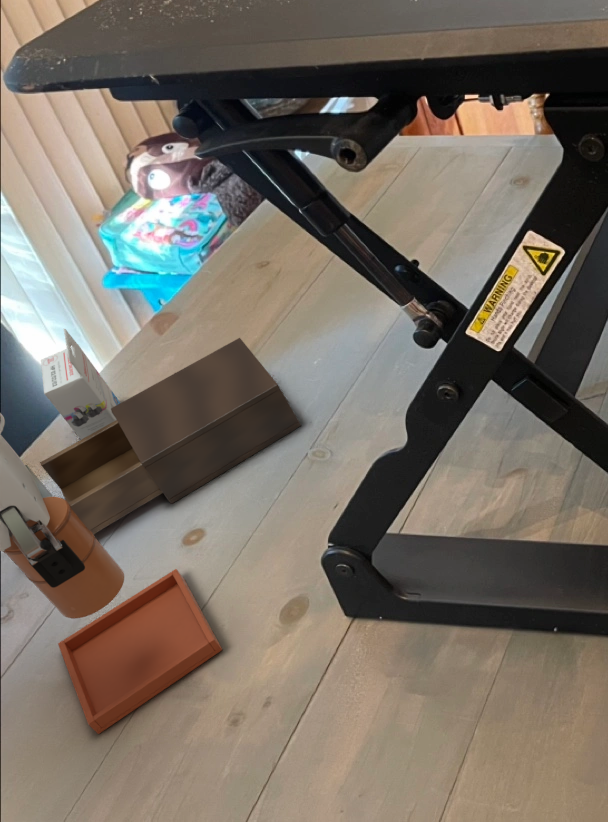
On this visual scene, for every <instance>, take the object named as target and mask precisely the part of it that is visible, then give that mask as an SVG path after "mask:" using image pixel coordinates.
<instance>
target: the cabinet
mask: <svg viewBox="0 0 608 822" xmlns="http://www.w3.org/2000/svg"><path fill="white" fill-rule="evenodd" d="M111 411H112V412H113V414H114V416H115V418H116V419H117V421H118V423H119V425H120V427H121V428H122V430H123V432H124V434H125V435H126V437H127V439H128V441H129V443H130V444H131V446H132V448H133V450H134V451H135V453H136V455H137V457H138V459H139V460H140V462H141V464H142V465H143V467H144V468H145V469H146V471H147V472H148V473H149V475H150V476H151V477H152V479H153V480H154V481H155V483H156V484H157V486H158V487H159V488H160V490H161V491H162V492H163V493H162V494H163V495H164V496H165V498H166V499H167V501H168V502H169V503H170V504H174V503H175V502H177V501H179V500H180V499H182V498H184V497H185V496H188V495H189V494H191V493H192V492H194V491H196V490H197V489H200V488H201V487H202V486H204V485H206V484H207V483H209V482H210V481H212V480H214V479H215V478H217V477H219V476H220V475H223V474H224V473H225V472H227V471H228V470H230V469H232V468H234V467H236V466H237V465H238V464H240V463H242V462H243V461H245V460H247V459H248V458H250V457H252V456H253V455H255V454H256V453H258V452H260V451H262V450H264V449H265V448H267V447H268V446H270V445H272V444H273V443H275V442H277V441H278V440H280V439H282V438H284V437H285V436H287V435H289V434H290V433H291V432H294V431H295V430H296V429H298V428H299V427H301V426H302V423H301V422H300V420H299V419H298V417H297V415H296V413H295V411H294V410H293V408H292V406H291V405H290V403H289V401H288V400H287V398H286V396H285V394H284V392H283V390H282V389H281V387H280V385H279V383H277V381H275V379H274V378H273V376H272V375H271V374H270V372H268V370H267V369H266V368H265V366H264V365H262V363H261V362H260V361H259V359H258V358H257V357H256V356H255V354H254V353H253V352H252V350H251V349H250V348H249V346H247V344H246V343H245V342H244V341H243V340H242V338H241V337H238V338H236V339H235V340H232V341H231V342H229V343H227V344H225V345H223V346H222V347H220V348H218V349H217V350H215V351H213V352H211V353H209V354H207V355H206V356H204V357H202V358H200V359H198V360H196V361H195V362H192V363H191V364H189V365H187V366H186V367H183V368H182V369H180V370H178V371H176V372H175V373H173V374H171V375H169V376H167V377H165V378H164V379H162V380H160V381H158V382H156V383H154V384H153V385H151V386H149V387H147V388H146V389H144V390H142V391H140V392H138V393H136V394H134V395H133V396H131V397H129V398H127V399H126V400H124V401H122V402H120V404H118V405H116V406H114V407H113V408H111Z"/></svg>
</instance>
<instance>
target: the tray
mask: <svg viewBox="0 0 608 822" xmlns="http://www.w3.org/2000/svg"><path fill="white" fill-rule="evenodd" d="M57 644H58V648H59V651H60V653H61V655H62V658H63V661H64V664H65V666H66V669H67V671H68V675H69V677H70V679H71V682H72V685H73V687H74V690H75V692H76V696H77V699H78V702H79V703H80V706H81V709H82V712H83V714H84V717H85V720H86V723H87V724H88V726H89V727H90V728H91V729H92V730H93V731H94V732H96V734H98V735H99V734H101V733H102V732H104V731H105V730H107V729H108V728H110V727H112V726H113V725H114V724H116V723H117V722H119V721H120V720H121V719H123V718H124V717H126V716H128V715H129V714H131V713H132V712H133V711H135V710H136V709H137V708H140V707H141V706H143V704H145V703H146V702H149V700H151V699H153V698H154V697H156V696H157V695H158V694H160V693H161V692H163V691H165V689H167V688H169V687H170V686H171V685H173V684H175V683H176V682H178V681H179V680H180V679H182V678H183V677H185V676H187V675H188V674H189V673H191V672H192V671H194V670H195V669H197V668H198V667H200V666H201V665H203V664H204V663H205V662H207V661H208V660H210V659H211V658H213V657H215V656H216V655H218V654H219V653H220V652H221V651H223V648H222V646H221V644H220V642H219V641H218V639H217V637H216V635H215V633H214V631H213V629H212V628H211V626H210V624H209V622H208V620H207V619H206V616H205V614H204V613H203V611H202V609H201V607H200V605H199V603H198V602H197V600H196V598H195V596H194V594H193V592H192V591H191V589H190V587H189V585H188V583H187V582H186V579H185V578H184V576H183V575H182V574H181V573H180V572H179V571H178V568H175V569H174V570H171V571H170V572H168V573H167V574H166V575H163V576H162V577H161V578H159V579H158V580H156V581H154V582H153V583H151V584H150V585H148V586H146V587H145V588H143V589H142V590H140V591H139V592H137V593H135V594H134V595H132V596H130V597H128V599H126V600H124V601H123V602H121V603H120V604H117V606H115V607H113V608H111V609H110V610H108V611H107V612H105V613H104V614H102V615H100V616H99V617H98V618H96V619H94V620H93V621H90V622H89V623H88V624H86V625H85V626H83V627H82V628H79V630H77V631H75V632H74V633H73V634H71V635H69V636H68V637H66V638H64V639H63V640H61V641H59V642H58V643H57Z"/></svg>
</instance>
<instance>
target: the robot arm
mask: <svg viewBox="0 0 608 822" xmlns="http://www.w3.org/2000/svg"><path fill="white" fill-rule="evenodd" d="M5 425H6V421H5V417H4V415H3V414H2V413H1V412H0V552H2V551H5V550H6V549H7V548H9V547H10V546H11V542H10V537H11V538H12V540H13V541H14V542H15V544H16V545H17V546H18V548H19V549H20V550H21V552H22V553H23V554H24V556H25V557H26V558H27V560H28V561H29V563H30V565H31V566H32V567H33V568H34V569H35V570H36V571H37V572H38V573H39V574H40V576H41V577H42V578H43V579H44V580H45V581H46V582H47V583H48V584H49V585H50V587H52V588H55V587H57V586H59V585H61V584H62V583H64V582H65V581H67V580H69V579H70V578H72V577H74V576H75V575H77V574H79V573H80V572H82V571H83V570H84V569H85V565H84V563H83V562H82V561H81V560H80V559H79V557H78V556H77V555H76V554H75V553H74V552H73V550H72V549H71V548H70V547H69V546H68V545H67V543H66V542H65V541H64V540H62V541H59V540H58V538H57V537H56V536H55V534H54V533H53V532H52V530H51V529H50V528H49V526H48V523H49V520H50V516H49V513H48V511H47V508H46V506H45V503H44V501H43V498H42V496H41V494H40V491H39V489H38V487H37V485H36V482H35V480H34V478H33V476H32V475H31V473H30V471H29V470H28V468H27V467H26V466H25V465H26V464H25V462H24V461H23V460H22V459H21V458H20V457H21V456H19V454H18V453H17V452H16V451H15V449H13V447H12V446H11V444H9V442H8V441H7V440H6V439H5V437H3V435H2V432H3V431H4V428H5ZM29 520H33V521H35V522H37V523H35V524H34V525H32V526H29V525H28V523H27V522H28V521H29ZM40 530H41V531H42V532H43V534H44V535H45V536H46V538H47V539H48V540H45V539H44V540H43V541H40V540H39V539H38V538H37V537H36V536H35V533H36V532H38V531H40Z"/></svg>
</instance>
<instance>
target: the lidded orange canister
mask: <svg viewBox="0 0 608 822" xmlns="http://www.w3.org/2000/svg"><path fill="white" fill-rule="evenodd" d="M43 501H44V503H45V506H46V508H47V511H48V513H49V516H50V520H49V523H48V526H49V528H50V529H51V530H52V532H53V533H54V534H55V536H56V537H57V538H58V540H59V541H62V540H64V541H65V542H66V543H67V545H68V546H69V547H70V548H71V549H72V550H73V552H74V553H75V554H76V555H77V556H78V557H79V559H80V560H81V561H82V562H83V563H84V565H85V569H84V570H83V571H82V572H80V573H79V574H77V575H75V576H74V577H72V578H70V579H69V580H67V581H65V582H64V583H62V584H61V585H59V586H57V587H55V588H52V587H50V585H49V584H48V583H47V582H46V581H45V580H44V579H43V578H42V577H41V576H40V574H39V573H38V572H37V571H36V570H35V569H34V568H33V567H32V566H31V565H30V563H29V561H28V560H27V558H26V557H25V556H24V554H23V553H22V552H21V550H20V549H19V548H18V546H17V545H16V544H15V542H14V541H13V540H12V538H11V537H10V542H11V546H10V547H9V548H7V549H6V550H5V551H1V552H2V553H4V554H6V556H8V558H9V559H10V560H11V561H12V562H13V563H14V564H15V565H16V566H17V567H18V569H20V571H22V573H23V574H24V575H25V577H26V578H27V579H28V580H29V581H30V582H32V583H33V584H34V586H35V587H36V588H37V589H38V590H39V591H40V592H41V593H42V594H43V595H44V597H46V598H47V600H48V601H49V602H50V603H51V604H52V605H53V606H54V608H56V609H57V611H59V612H60V614H61V615H62V616H64V617H65V618H67V619H73V620H74V619H75V620H76V619H81V618H85V617H89V616H92V615H93V614H95V613H97V612H99V611H101V610H102V609H104V608H105V607H107V605H109V604H110V603H111V602H112V601H113V600H114V599H115V598H116V597H117V596H118V594H119V593H120V591H121V590H122V588H123V586H124V582H125V572H124V570H123V569H122V568H121V567H120V565H119V564H118V563H117V562H116V561H115V559H114V558H113V557H112V556H111V554H110V553H109V552H108V551H107V549H106V548H105V547H104V546H103V545H102V543H101V542H100V541H99V540H98V539H97V538H96V536H95V534H93V533H92V532H91V531H90V530H89V529H88V528H87V527H86V525H85V524H84V523H83V522H82V521H81V519H80V518H79V517H78V516H77V515H76V513H75V512H74V511H73V510H72V509H71V506H70V504H69V503H68V502H67V501H66V500H65V498H62V497H60V496H53V497H45V498H43ZM27 523H28V525H29V526H32V525H34V524H35V523H37V522H35V521H33V520H29V521H28V522H27ZM35 536H36V537H37V538H38V539H39V540H40V541H43V540H44V539H45V540H48V539H47V538H46V536H45V535H44V534H43V532H42V531H41V530H40V531H38V532H36V533H35Z"/></svg>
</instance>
